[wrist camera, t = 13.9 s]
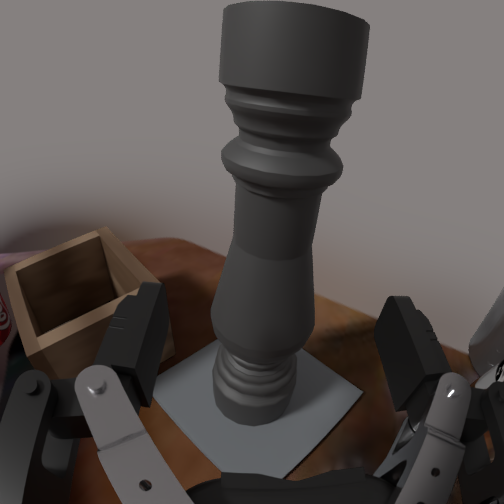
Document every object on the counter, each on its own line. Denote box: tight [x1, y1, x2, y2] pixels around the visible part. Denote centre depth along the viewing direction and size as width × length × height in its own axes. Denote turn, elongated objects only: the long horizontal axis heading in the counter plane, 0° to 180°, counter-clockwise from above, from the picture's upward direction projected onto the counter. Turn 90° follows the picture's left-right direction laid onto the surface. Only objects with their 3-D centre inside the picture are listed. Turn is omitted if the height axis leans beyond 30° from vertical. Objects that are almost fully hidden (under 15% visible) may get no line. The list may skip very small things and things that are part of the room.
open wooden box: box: [4, 227, 176, 380], centre depth 25 cm, size 11×11×8 cm
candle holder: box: [211, 1, 370, 426], centre depth 17 cm, size 6×6×25 cm
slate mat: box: [153, 339, 363, 479], centre depth 24 cm, size 13×13×1 cm
